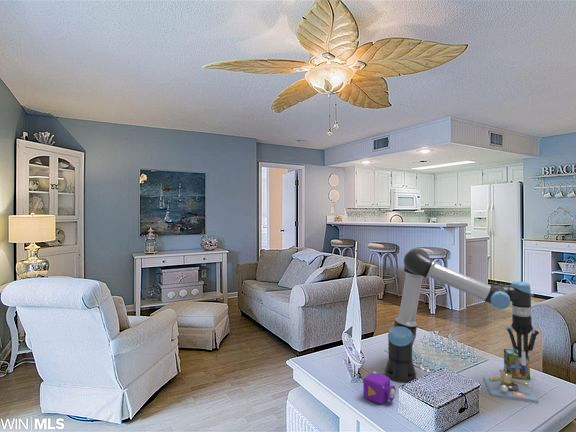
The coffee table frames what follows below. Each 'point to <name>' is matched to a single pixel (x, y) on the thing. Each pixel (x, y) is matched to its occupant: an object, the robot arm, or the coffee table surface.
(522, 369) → the chalk box
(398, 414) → the coffee table surface
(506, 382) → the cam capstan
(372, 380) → the toy camera
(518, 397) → the board
